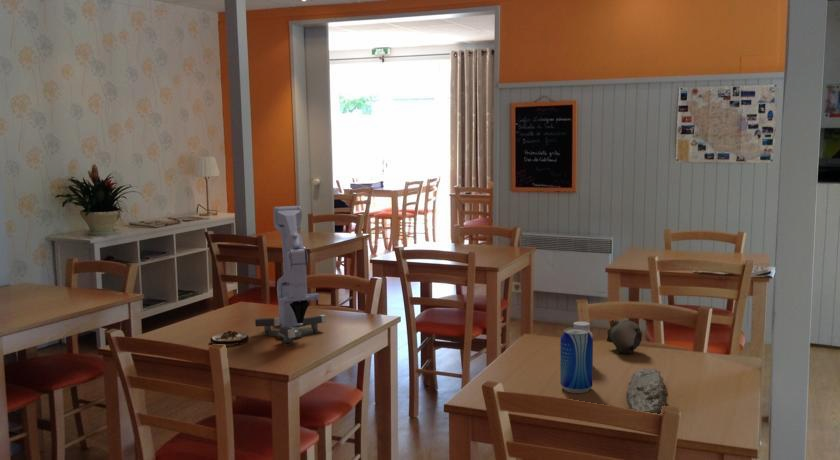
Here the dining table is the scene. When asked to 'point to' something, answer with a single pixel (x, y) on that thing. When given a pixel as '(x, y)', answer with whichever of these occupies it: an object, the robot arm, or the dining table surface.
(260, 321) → the footscrew rear
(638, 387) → the elongated rock
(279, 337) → the levelling base
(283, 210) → the robot arm
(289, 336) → the two-tone rectangular bar
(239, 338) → the cream topped cake
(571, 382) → the beer can
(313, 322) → the post
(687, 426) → the dining table surface
